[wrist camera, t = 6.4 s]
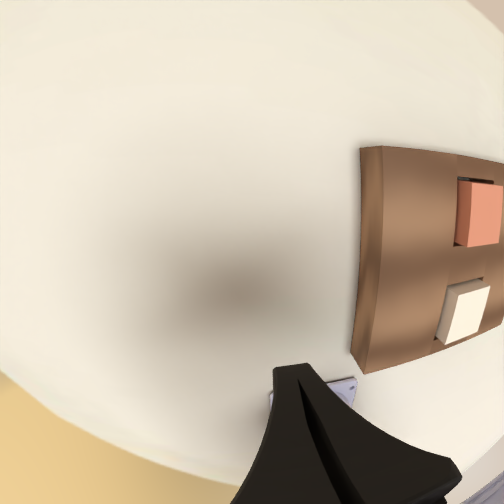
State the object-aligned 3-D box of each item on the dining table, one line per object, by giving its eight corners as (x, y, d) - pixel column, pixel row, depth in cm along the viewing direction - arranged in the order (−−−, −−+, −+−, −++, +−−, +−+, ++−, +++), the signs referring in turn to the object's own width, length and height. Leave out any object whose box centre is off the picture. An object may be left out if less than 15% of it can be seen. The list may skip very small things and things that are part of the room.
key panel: (484, 312, 22) (500, 324, 19) (350, 352, 21) (363, 374, 18) (504, 166, 17) (525, 169, 14) (359, 148, 16) (382, 145, 14)
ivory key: (455, 314, 21) (477, 331, 17) (423, 324, 20) (444, 344, 17) (465, 271, 19) (490, 285, 16) (432, 277, 19) (458, 295, 16)
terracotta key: (470, 231, 18) (498, 242, 15) (437, 234, 18) (467, 247, 15) (473, 180, 17) (503, 186, 13) (440, 178, 17) (472, 182, 13)
